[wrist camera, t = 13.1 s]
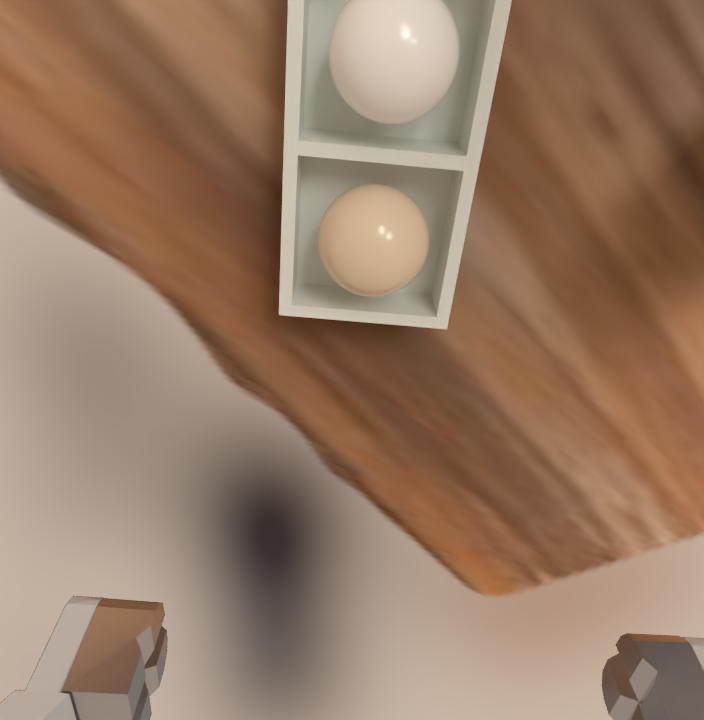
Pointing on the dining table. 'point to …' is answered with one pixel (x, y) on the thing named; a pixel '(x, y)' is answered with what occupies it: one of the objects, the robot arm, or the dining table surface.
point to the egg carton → (381, 165)
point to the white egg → (393, 57)
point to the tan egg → (373, 240)
